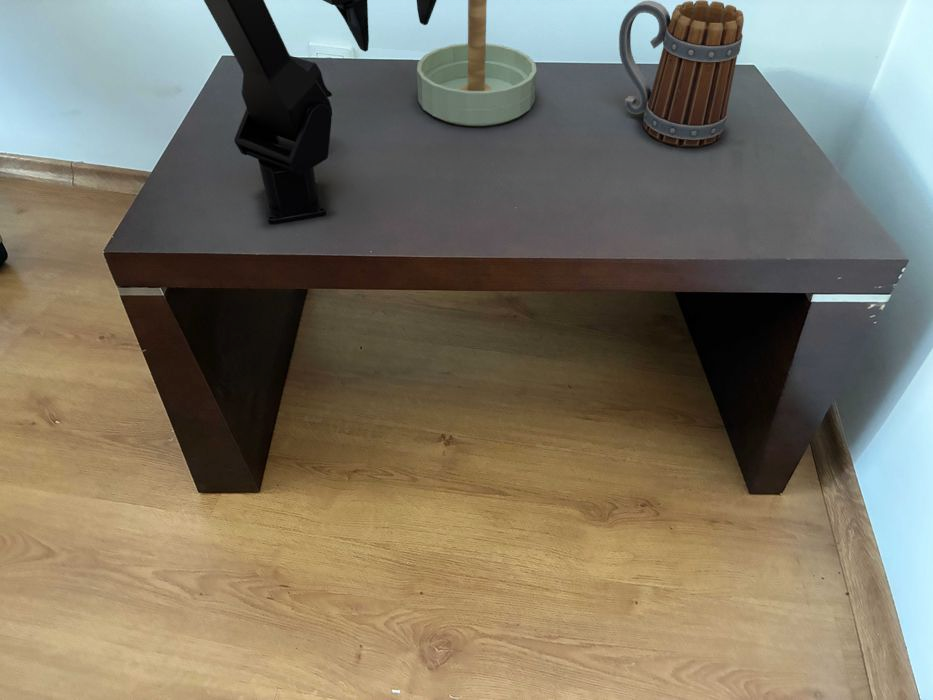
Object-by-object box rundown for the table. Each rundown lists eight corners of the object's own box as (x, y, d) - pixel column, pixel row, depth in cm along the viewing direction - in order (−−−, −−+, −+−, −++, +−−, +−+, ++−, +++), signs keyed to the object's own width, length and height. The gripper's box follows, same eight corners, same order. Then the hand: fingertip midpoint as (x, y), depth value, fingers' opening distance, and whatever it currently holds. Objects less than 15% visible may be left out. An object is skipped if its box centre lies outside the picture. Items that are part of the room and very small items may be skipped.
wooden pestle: (496, 93, 101) (499, -12, 91) (485, 106, 98) (487, -1, 88) (467, 88, 102) (467, -16, 92) (455, 101, 99) (454, -6, 89)
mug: (732, 123, 96) (765, 6, 86) (709, 157, 90) (741, 35, 79) (623, 96, 102) (642, -16, 91) (594, 127, 95) (610, 9, 85)
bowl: (551, 119, 97) (554, 83, 93) (436, 136, 93) (435, 99, 90) (510, 71, 108) (512, 37, 104) (406, 84, 104) (404, 50, 101)
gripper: (397, -148, 82) (411, -7, 93) (258, -106, 74) (292, 42, 85) (463, -129, 76) (469, 18, 88) (319, -82, 68) (347, 73, 80)
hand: (394, 36), depth 85 cm, fingers open, 9 cm apart
